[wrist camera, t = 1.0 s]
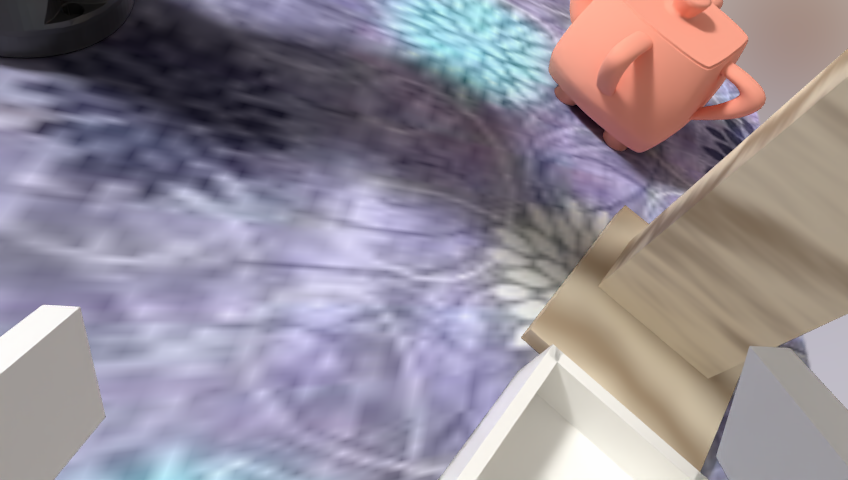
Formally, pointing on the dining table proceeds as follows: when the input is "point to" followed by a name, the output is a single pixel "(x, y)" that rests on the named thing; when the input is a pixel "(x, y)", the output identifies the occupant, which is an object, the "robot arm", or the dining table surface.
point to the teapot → (651, 67)
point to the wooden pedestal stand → (715, 272)
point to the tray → (563, 433)
